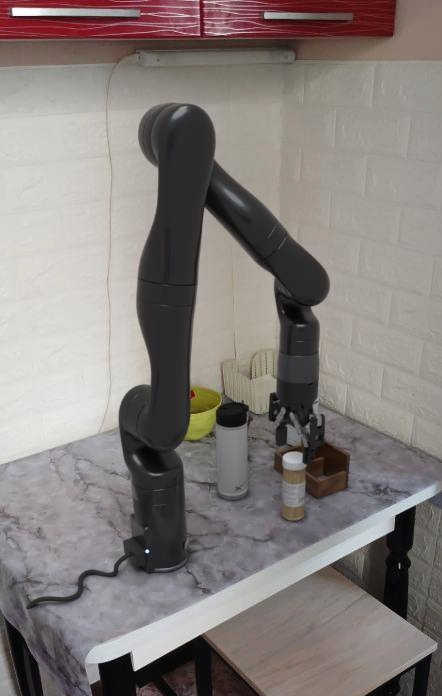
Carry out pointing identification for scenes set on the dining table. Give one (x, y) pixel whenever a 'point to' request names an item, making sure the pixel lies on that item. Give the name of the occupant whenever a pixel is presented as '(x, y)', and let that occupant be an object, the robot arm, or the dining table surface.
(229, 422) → the travel mug
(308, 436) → the spice rack
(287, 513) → the brown spice jar
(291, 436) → the syrup box
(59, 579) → the dining table surface
